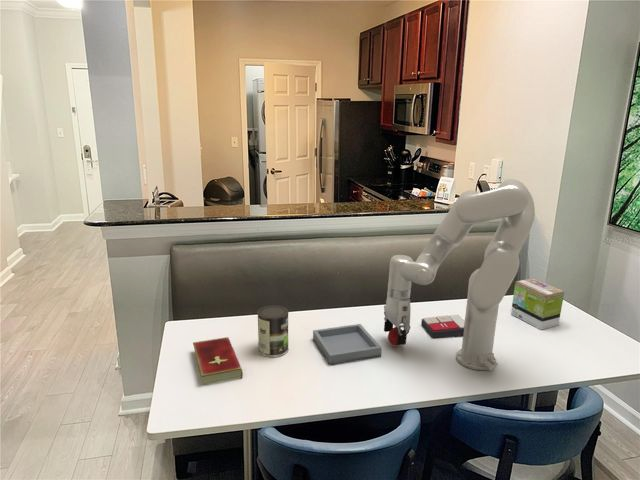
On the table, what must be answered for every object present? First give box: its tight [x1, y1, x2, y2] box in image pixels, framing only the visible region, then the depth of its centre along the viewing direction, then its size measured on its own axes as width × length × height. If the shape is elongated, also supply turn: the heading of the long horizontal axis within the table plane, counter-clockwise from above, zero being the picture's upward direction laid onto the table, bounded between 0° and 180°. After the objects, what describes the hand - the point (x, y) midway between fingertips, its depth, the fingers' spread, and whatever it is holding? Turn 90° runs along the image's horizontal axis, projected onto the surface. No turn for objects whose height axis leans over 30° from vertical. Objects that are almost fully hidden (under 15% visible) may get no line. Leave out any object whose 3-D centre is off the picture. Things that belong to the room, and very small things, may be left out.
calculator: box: [420, 314, 465, 339], centre depth 173 cm, size 11×4×15 cm
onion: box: [387, 326, 403, 347], centre depth 160 cm, size 6×6×8 cm
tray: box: [312, 323, 382, 366], centre depth 159 cm, size 18×18×4 cm
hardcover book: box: [192, 336, 244, 386], centre depth 148 cm, size 12×21×4 cm, turn 21°
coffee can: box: [256, 305, 289, 358], centre depth 156 cm, size 10×10×14 cm
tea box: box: [510, 277, 565, 331], centre depth 181 cm, size 15×10×15 cm, turn 25°
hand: (394, 337), depth 161 cm, fingers open, 9 cm apart
